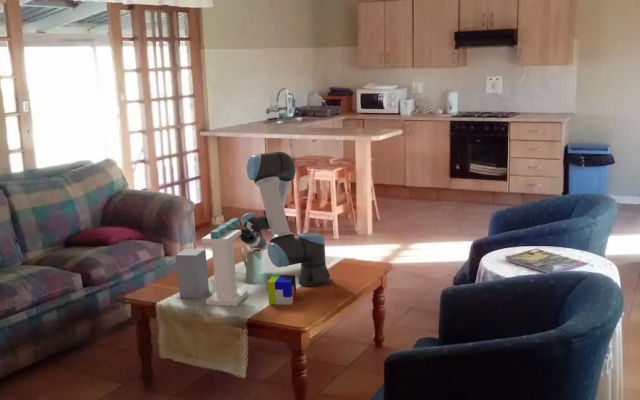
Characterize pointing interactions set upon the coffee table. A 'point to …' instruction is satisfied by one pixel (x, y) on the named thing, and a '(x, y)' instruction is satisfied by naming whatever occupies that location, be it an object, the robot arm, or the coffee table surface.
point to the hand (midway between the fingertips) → (233, 224)
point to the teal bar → (224, 228)
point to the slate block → (192, 273)
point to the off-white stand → (224, 270)
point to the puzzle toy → (281, 289)
